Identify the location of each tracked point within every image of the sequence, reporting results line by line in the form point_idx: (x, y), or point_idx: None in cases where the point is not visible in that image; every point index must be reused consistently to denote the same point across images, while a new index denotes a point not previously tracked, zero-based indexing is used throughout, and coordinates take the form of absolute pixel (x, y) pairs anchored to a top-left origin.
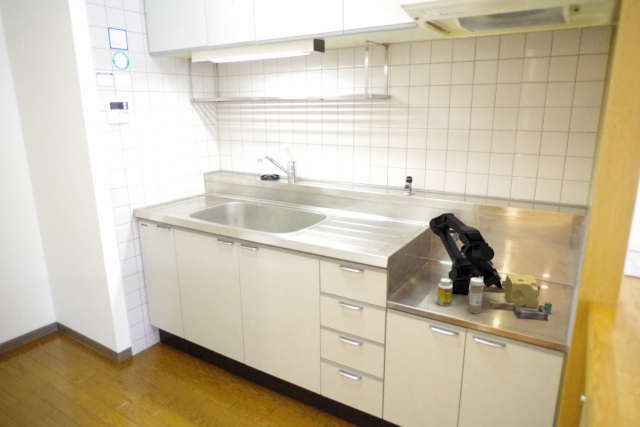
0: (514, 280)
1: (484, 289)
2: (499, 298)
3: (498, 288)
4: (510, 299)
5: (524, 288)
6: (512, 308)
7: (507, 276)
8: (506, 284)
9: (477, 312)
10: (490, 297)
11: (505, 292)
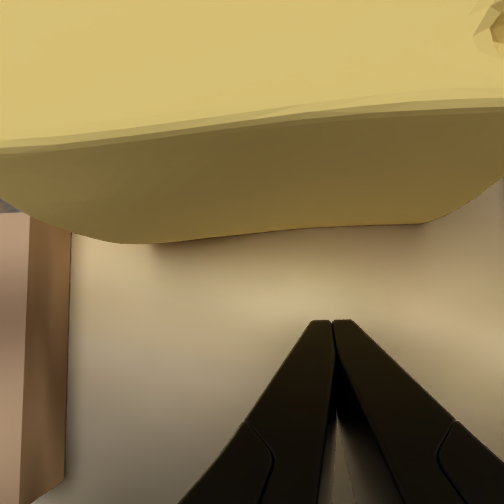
0: (333, 11)
1: (48, 477)
2: (229, 314)
3: (38, 303)
4: (451, 211)
5: None
6: None
7: (29, 157)
8: (158, 214)
9: None
10: (220, 419)
11: (189, 239)
